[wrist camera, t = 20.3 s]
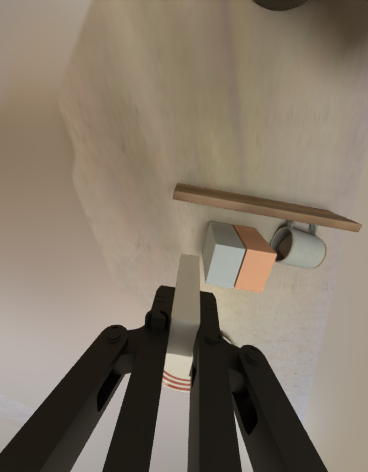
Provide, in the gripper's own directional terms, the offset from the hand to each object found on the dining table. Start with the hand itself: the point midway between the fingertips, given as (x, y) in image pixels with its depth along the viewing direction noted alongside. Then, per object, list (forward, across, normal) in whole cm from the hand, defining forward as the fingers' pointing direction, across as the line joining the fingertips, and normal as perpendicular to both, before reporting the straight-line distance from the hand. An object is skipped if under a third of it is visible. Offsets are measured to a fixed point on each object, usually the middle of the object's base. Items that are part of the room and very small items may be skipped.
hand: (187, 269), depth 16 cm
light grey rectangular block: (+27, +7, -9) cm, 29 cm away
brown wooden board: (+27, +12, +1) cm, 30 cm away
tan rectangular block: (+27, +12, -9) cm, 31 cm away
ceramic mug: (+28, +23, -6) cm, 36 cm away
